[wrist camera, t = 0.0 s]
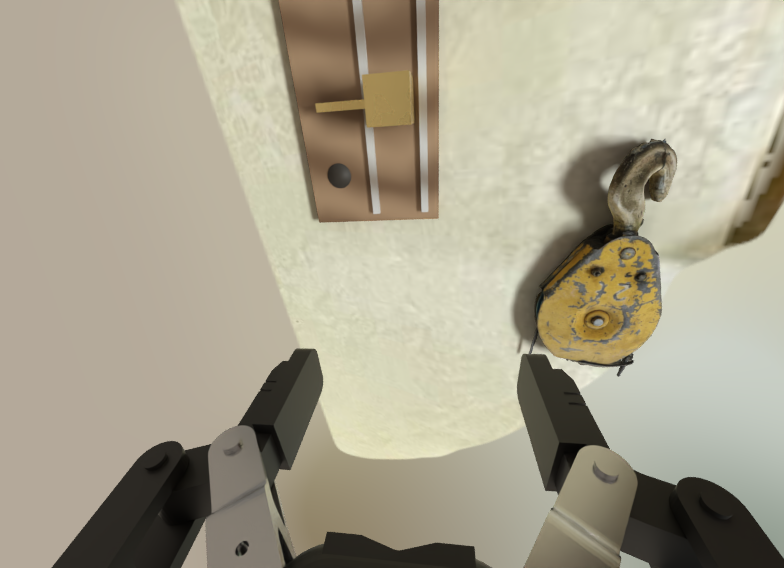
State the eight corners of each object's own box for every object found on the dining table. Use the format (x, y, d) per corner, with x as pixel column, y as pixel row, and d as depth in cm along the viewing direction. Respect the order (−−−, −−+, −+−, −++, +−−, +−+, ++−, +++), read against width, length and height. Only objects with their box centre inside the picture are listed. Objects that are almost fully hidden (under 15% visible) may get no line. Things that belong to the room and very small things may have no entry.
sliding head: (318, 86, 32) (296, 81, 27) (413, 77, 31) (409, 70, 26) (324, 129, 34) (305, 132, 29) (414, 122, 33) (411, 124, 28)
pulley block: (777, 145, 26) (635, 394, 41) (732, 139, 31) (620, 364, 46) (591, 138, 30) (521, 372, 44) (577, 134, 34) (518, 346, 49)
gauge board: (275, -44, 29) (256, -62, 26) (438, -69, 27) (439, -92, 24) (322, 219, 41) (313, 228, 38) (438, 215, 39) (438, 224, 36)
